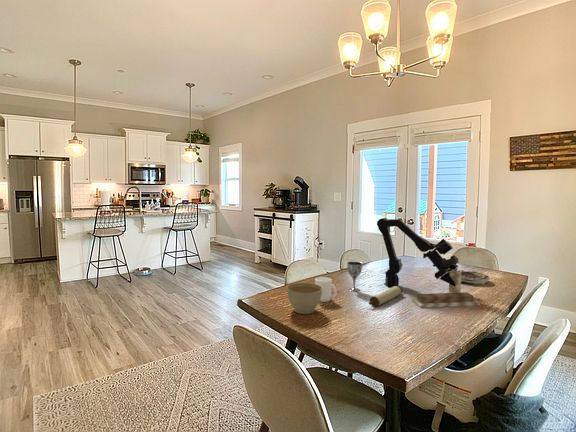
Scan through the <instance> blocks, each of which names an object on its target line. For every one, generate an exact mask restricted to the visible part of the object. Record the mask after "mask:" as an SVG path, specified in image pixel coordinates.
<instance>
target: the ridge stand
mask: <svg viewBox="0 0 576 432" xmlns="http://www.w3.org/2000/svg"><path fill="white" fill-rule="evenodd" d="M416 295H417V296H416V298H411V300H410V301H411V302H412V303H413V304H415V305H416V306H417V307H419V308H441V307H442V308H443V307H444V308H445V307H446V308H447V307H468V306H469V307H470V306H471V307H473V306H481V305H480V302H479V301H477V300H474V295H472V294H471V293H469V292H461V293H449V292H439V293H417V294H416Z"/></svg>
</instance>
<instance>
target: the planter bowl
mask: <svg viewBox="0 0 576 432" xmlns="http://www.w3.org/2000/svg"><path fill="white" fill-rule="evenodd" d="M286 291H287V298H288V301H289V303H290V304H291V307H292V308H293V312H295V313H297V314H303V315H308V314H312V313H314V312H315V309H316V308H317V307H318V305H319V304H320V299H321V295H322V287H321V286H319V285H316V284H315V283H312V282H311V283H310V282H295V283H291V284H289V285H287V287H286Z"/></svg>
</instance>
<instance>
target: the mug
mask: <svg viewBox="0 0 576 432" xmlns="http://www.w3.org/2000/svg"><path fill="white" fill-rule="evenodd" d="M314 282H315V283H314V284H316V285H319V286H321V287H322V295H321V299H320V302H322V303H323V302H324V303H326V302H330V301H331V300H332V299H334V298H336V296H337V294H338V291H337V288H336V286H335V284H333V283H332V282H333V281H332V278H329V277H327V276H326V277H325V276H319V277H316V278H315V279H314ZM332 289H333V294H332ZM320 302H319V303H320Z"/></svg>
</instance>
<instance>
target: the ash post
mask: <svg viewBox="0 0 576 432" xmlns="http://www.w3.org/2000/svg"><path fill="white" fill-rule="evenodd" d="M460 271H461V270H460ZM460 271H458V270H457V271H454V270H452V271H450V277H451V278H452V280H453V281H454V282H455V284H456V286H452V285H451V284H449V283H448V293H462V292H461V291H462V290H461V289H462V282H461V275H462V272H460Z"/></svg>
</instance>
